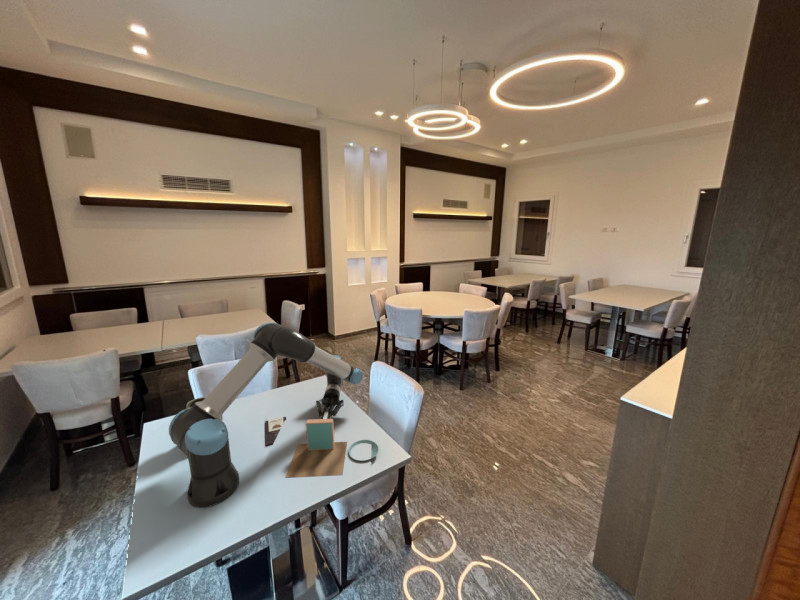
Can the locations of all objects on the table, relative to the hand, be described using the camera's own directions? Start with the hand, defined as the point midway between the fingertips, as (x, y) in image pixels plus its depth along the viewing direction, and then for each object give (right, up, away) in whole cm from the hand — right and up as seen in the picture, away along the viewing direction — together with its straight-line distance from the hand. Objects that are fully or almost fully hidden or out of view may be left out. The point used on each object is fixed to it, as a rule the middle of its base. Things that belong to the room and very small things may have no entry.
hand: (324, 423), depth 130 cm
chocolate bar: (-23, -6, +7) cm, 25 cm away
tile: (0, -7, -5) cm, 9 cm away
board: (+1, -10, -11) cm, 15 cm away
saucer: (+17, -10, -7) cm, 21 cm away
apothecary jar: (-50, -7, 0) cm, 51 cm away
